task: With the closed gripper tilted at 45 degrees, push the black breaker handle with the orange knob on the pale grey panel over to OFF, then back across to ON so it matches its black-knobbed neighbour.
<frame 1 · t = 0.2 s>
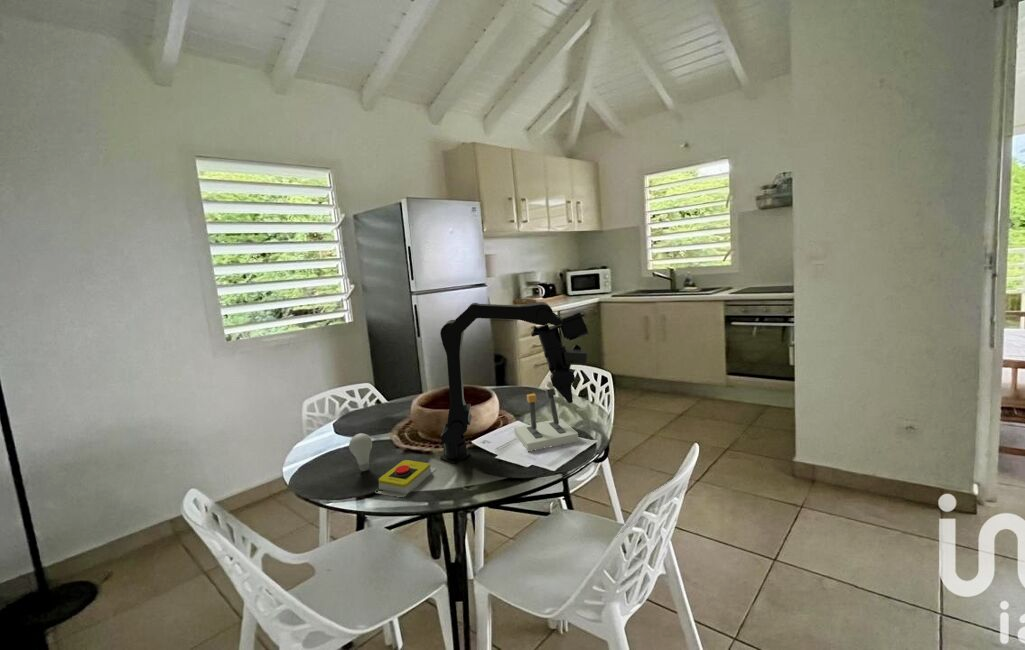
hand: (569, 396, 123), 15 cm above the table, tool pointing down, fingers open, 9 cm apart
lightbulb: (364, 471, 122), on the table
emergency button: (407, 482, 115), on the table
tripped breaker: (532, 405, 131), point 11 cm above the table, hinge at 0.0°
breaker panel: (545, 438, 134), on the table
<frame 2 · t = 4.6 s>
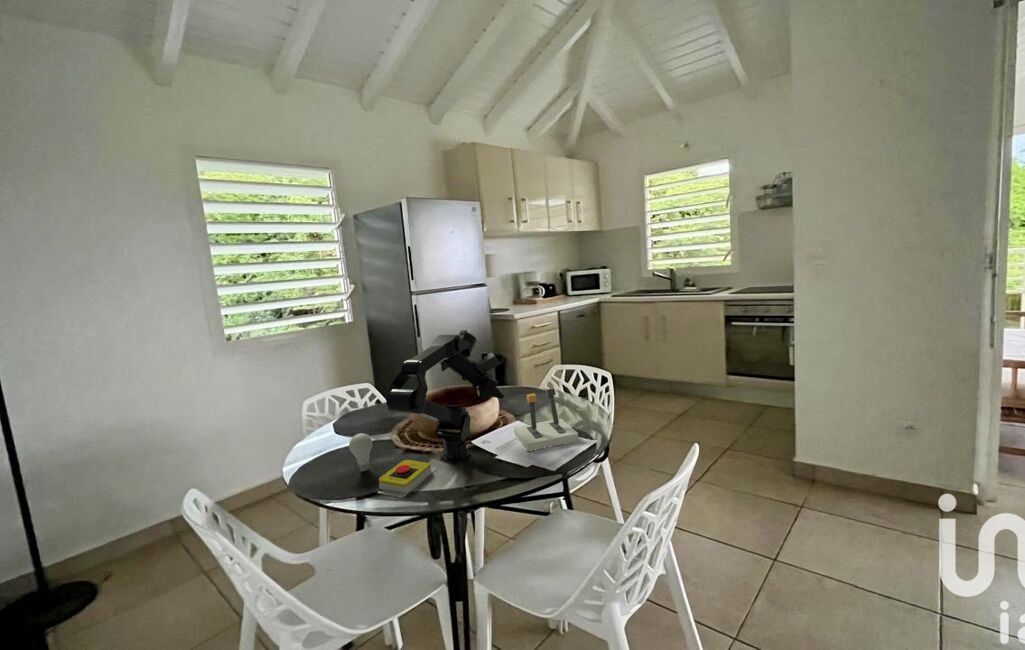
hand: (503, 397, 133), 13 cm above the table, tool tilted 45°, fingers closed
nothing on the table moved.
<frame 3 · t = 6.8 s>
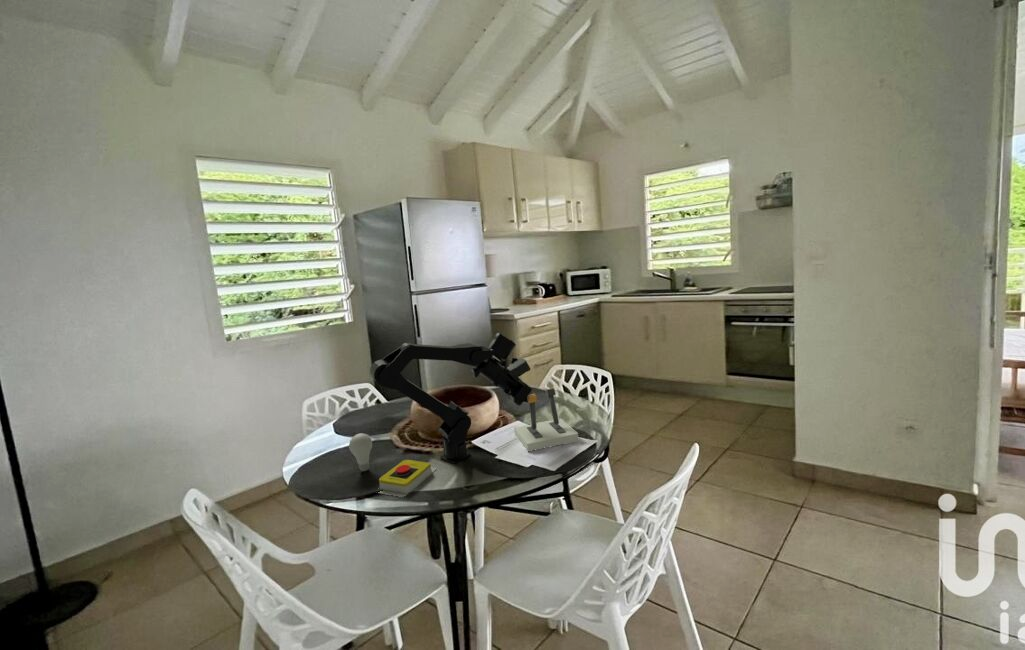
hand: (533, 401, 134), 11 cm above the table, tool tilted 45°, fingers closed
tripped breaker: (532, 405, 131), point 11 cm above the table, hinge at 1.4°, touching gripper
everything else where it was.
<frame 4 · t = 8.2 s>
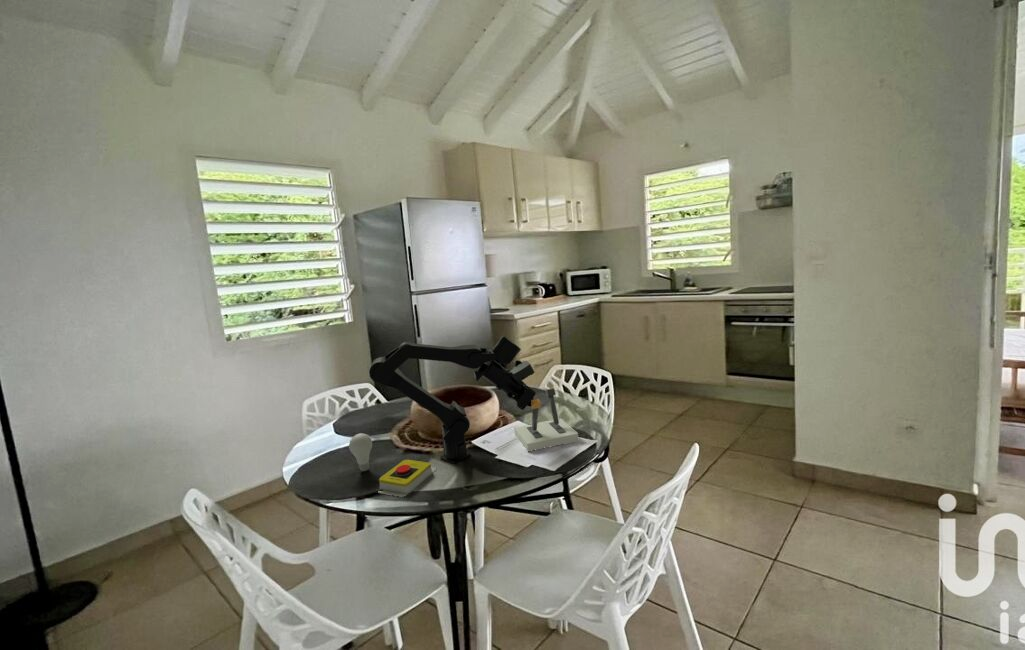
hand: (537, 405, 130), 11 cm above the table, tool tilted 45°, fingers closed
tripped breaker: (535, 409, 128), point 11 cm above the table, hinge at 20.2°, touching gripper
everything else where it was.
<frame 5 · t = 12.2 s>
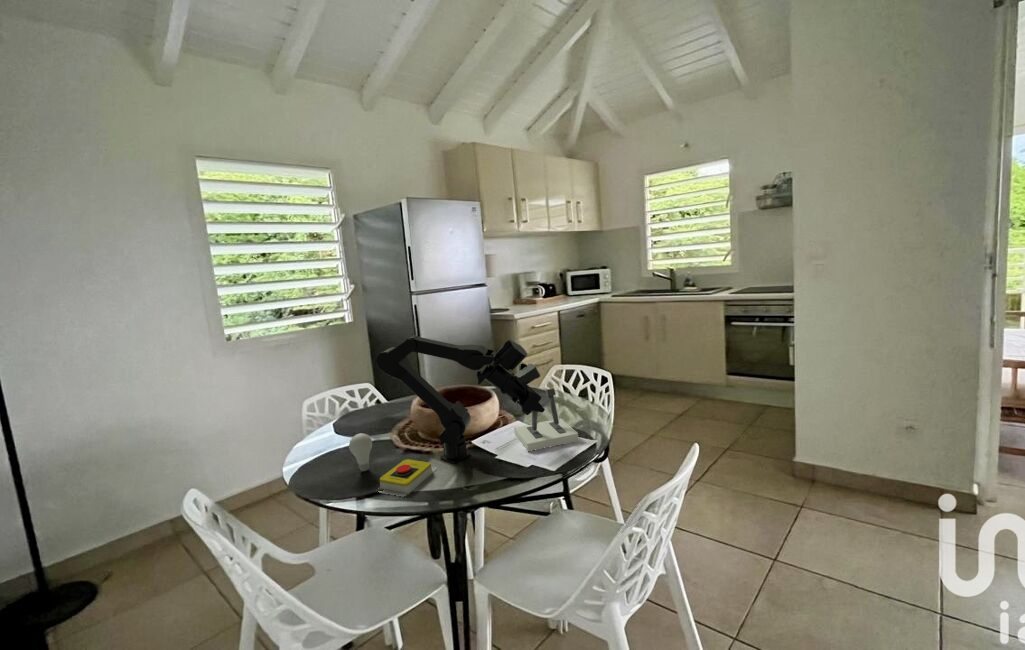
hand: (543, 410, 125), 11 cm above the table, tool tilted 45°, fingers closed
tripped breaker: (535, 409, 128), point 11 cm above the table, hinge at 17.8°, touching gripper
everything else where it was.
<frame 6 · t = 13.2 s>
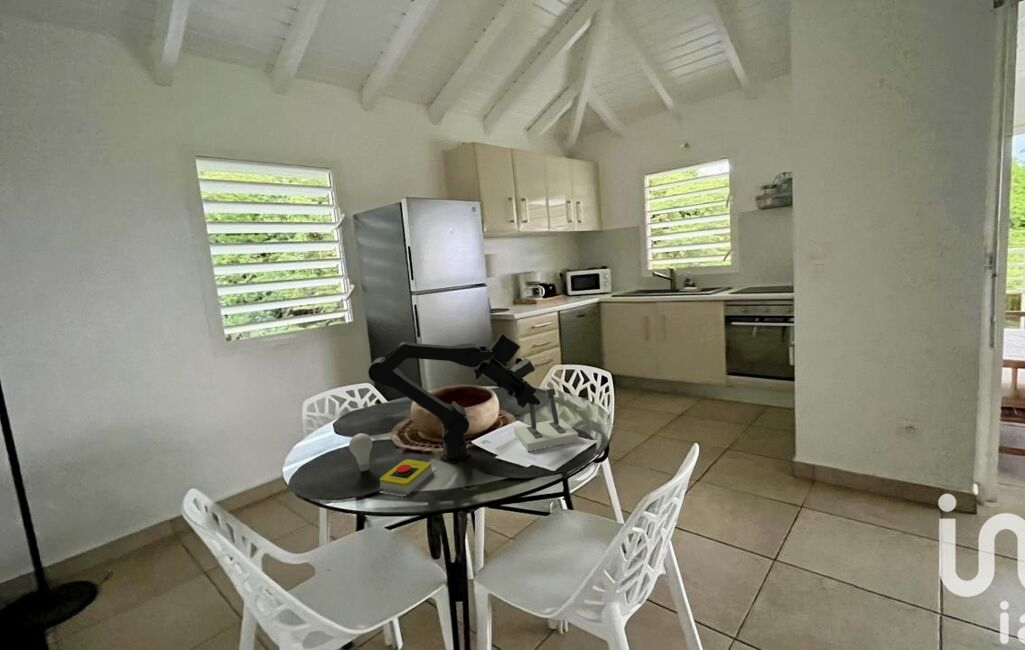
hand: (539, 403, 129), 12 cm above the table, tool tilted 45°, fingers closed
tripped breaker: (531, 404, 131), point 11 cm above the table, hinge at -3.7°, touching gripper
everything else where it was.
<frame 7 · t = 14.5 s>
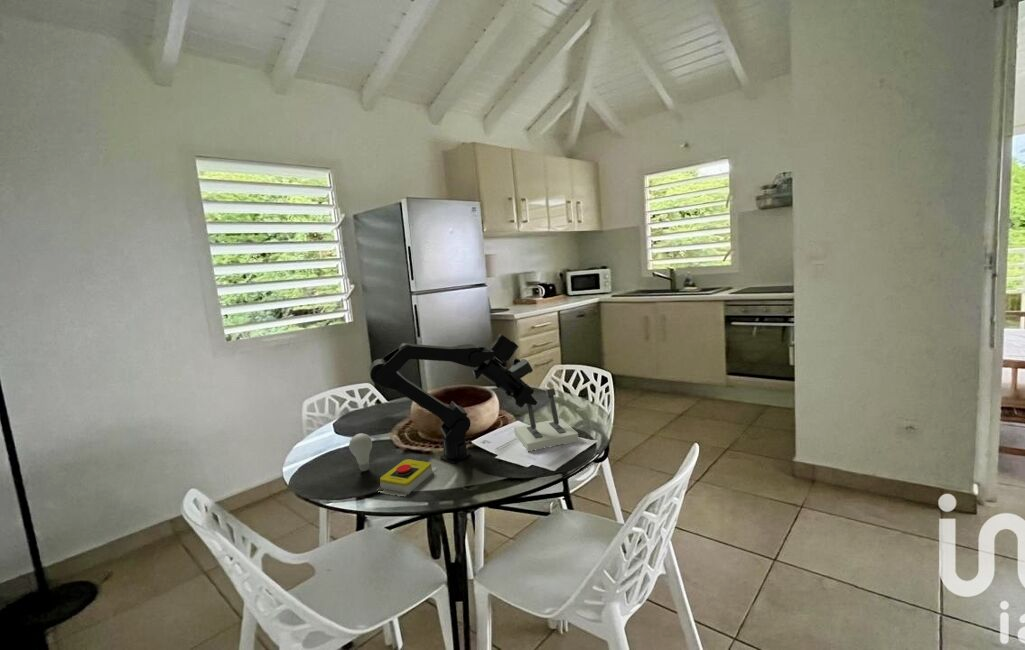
hand: (536, 403, 132), 11 cm above the table, tool tilted 45°, fingers closed
tripped breaker: (529, 404, 133), point 11 cm above the table, hinge at -20.0°, touching gripper
everything else where it was.
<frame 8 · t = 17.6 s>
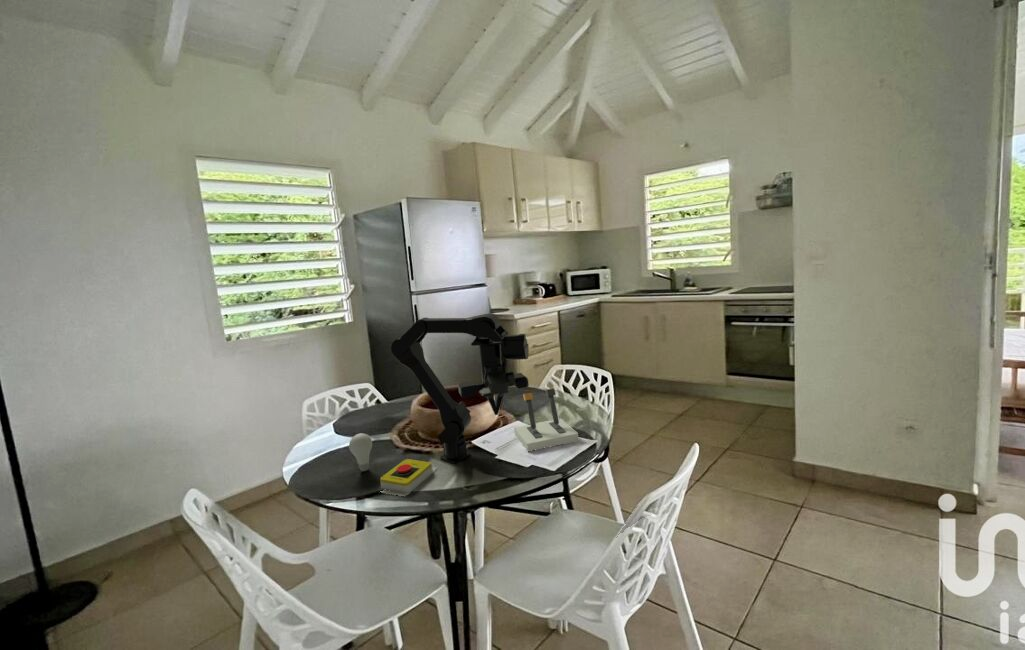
hand: (496, 414, 121), 13 cm above the table, tool pointing down, fingers closed
tripped breaker: (529, 404, 133), point 11 cm above the table, hinge at -20.2°
everything else where it was.
at the end: tripped breaker at -20° (first picture: +0°); emergency button moved 0.9 cm from its start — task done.
